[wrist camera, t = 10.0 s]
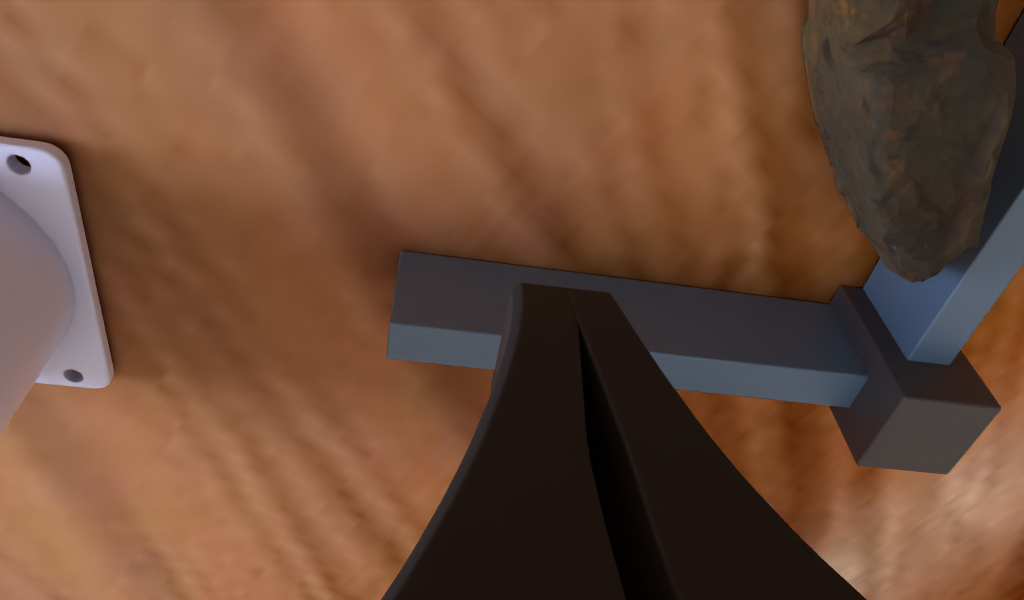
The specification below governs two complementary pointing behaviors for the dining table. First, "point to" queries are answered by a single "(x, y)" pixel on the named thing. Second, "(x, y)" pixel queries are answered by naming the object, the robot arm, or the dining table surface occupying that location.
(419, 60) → the dining table surface
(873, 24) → the hand tool
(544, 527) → the robot arm
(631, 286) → the corner guide
